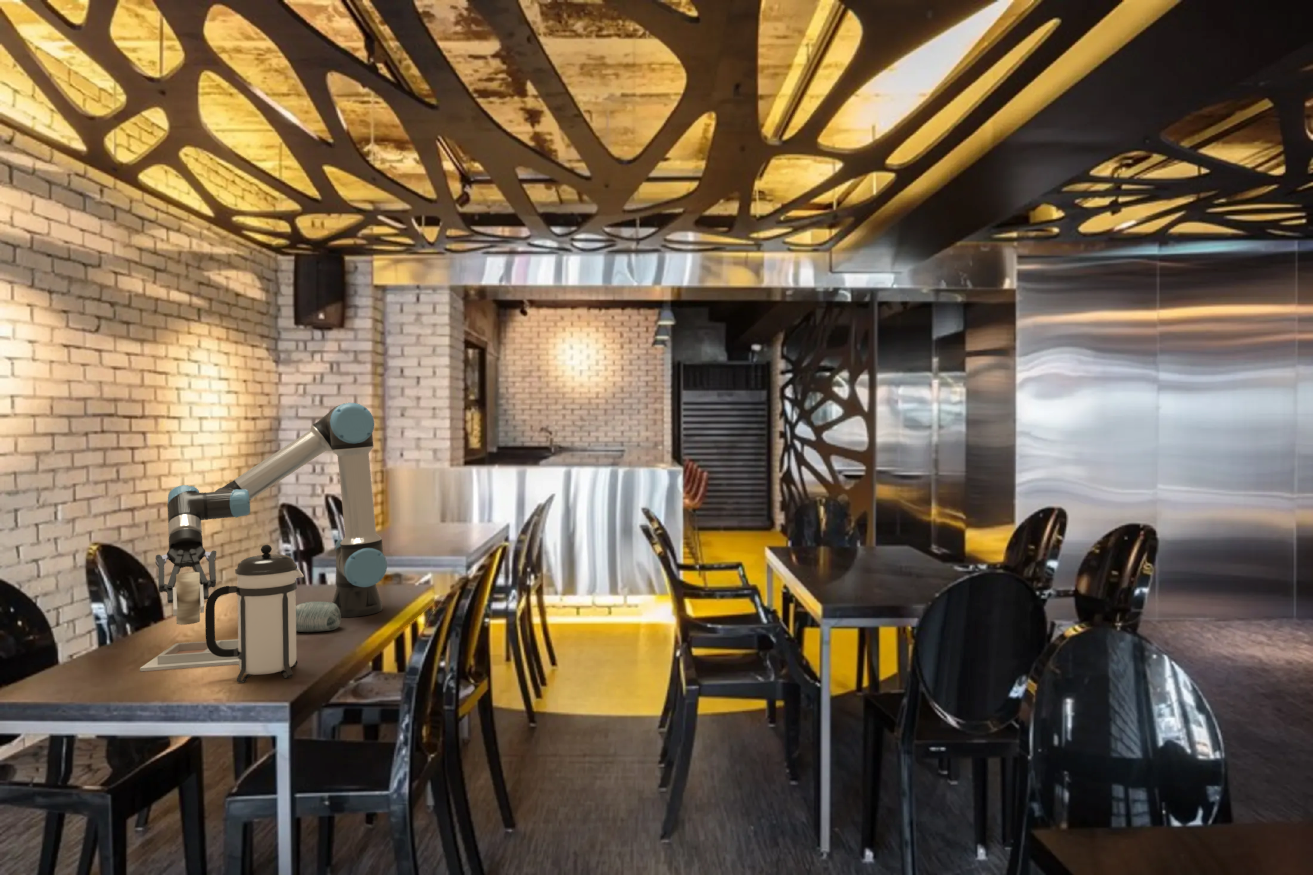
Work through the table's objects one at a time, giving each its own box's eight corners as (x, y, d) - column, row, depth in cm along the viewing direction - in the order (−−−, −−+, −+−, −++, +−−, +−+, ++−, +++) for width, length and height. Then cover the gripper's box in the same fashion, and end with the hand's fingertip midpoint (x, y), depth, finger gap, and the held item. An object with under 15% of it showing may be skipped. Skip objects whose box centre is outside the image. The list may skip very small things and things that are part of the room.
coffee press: (275, 660, 191) (273, 538, 191) (317, 670, 183) (315, 542, 183) (204, 680, 176) (202, 547, 176) (245, 691, 168) (243, 552, 168)
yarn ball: (350, 613, 227) (335, 587, 222) (340, 636, 218) (324, 609, 214) (307, 624, 228) (290, 598, 223) (295, 647, 219) (278, 621, 215)
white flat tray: (276, 645, 205) (276, 634, 205) (260, 662, 190) (260, 651, 190) (166, 653, 199) (165, 642, 199) (140, 671, 184) (139, 659, 184)
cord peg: (202, 619, 196) (202, 571, 196) (195, 623, 191) (195, 575, 191) (180, 620, 195) (180, 572, 195) (173, 625, 190) (172, 576, 190)
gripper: (223, 542, 211) (229, 615, 197) (144, 548, 201) (144, 624, 187) (225, 524, 206) (231, 597, 193) (144, 529, 197) (144, 606, 183)
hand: (188, 610), depth 190 cm, fingers closed on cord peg, 5 cm apart
